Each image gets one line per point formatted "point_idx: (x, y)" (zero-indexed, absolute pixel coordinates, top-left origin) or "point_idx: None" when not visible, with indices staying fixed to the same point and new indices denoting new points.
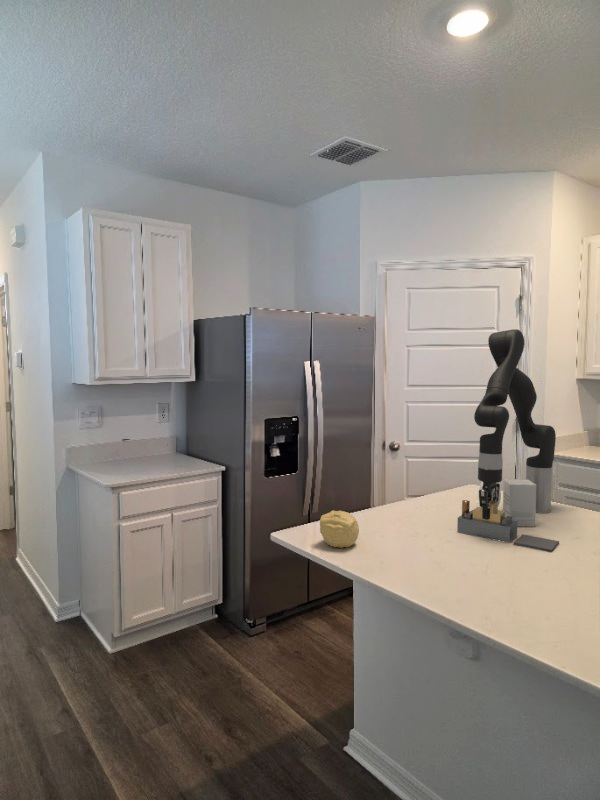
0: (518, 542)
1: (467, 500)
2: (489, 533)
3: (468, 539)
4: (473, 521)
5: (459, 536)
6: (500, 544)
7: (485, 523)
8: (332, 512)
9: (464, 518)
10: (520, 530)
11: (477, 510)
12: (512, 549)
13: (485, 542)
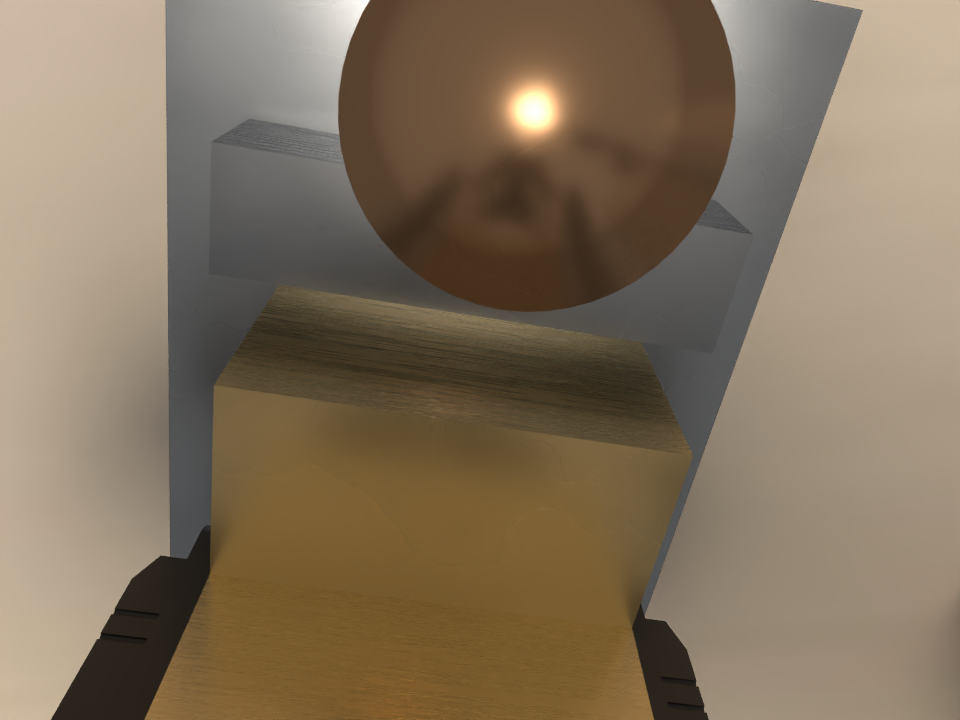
0: None
1: (695, 180)
2: None
3: (5, 190)
4: (176, 311)
5: (49, 12)
6: (111, 575)
7: (177, 530)
8: None
9: (195, 88)
10: (805, 685)
11: (253, 503)
12: (32, 683)
13: (54, 423)
